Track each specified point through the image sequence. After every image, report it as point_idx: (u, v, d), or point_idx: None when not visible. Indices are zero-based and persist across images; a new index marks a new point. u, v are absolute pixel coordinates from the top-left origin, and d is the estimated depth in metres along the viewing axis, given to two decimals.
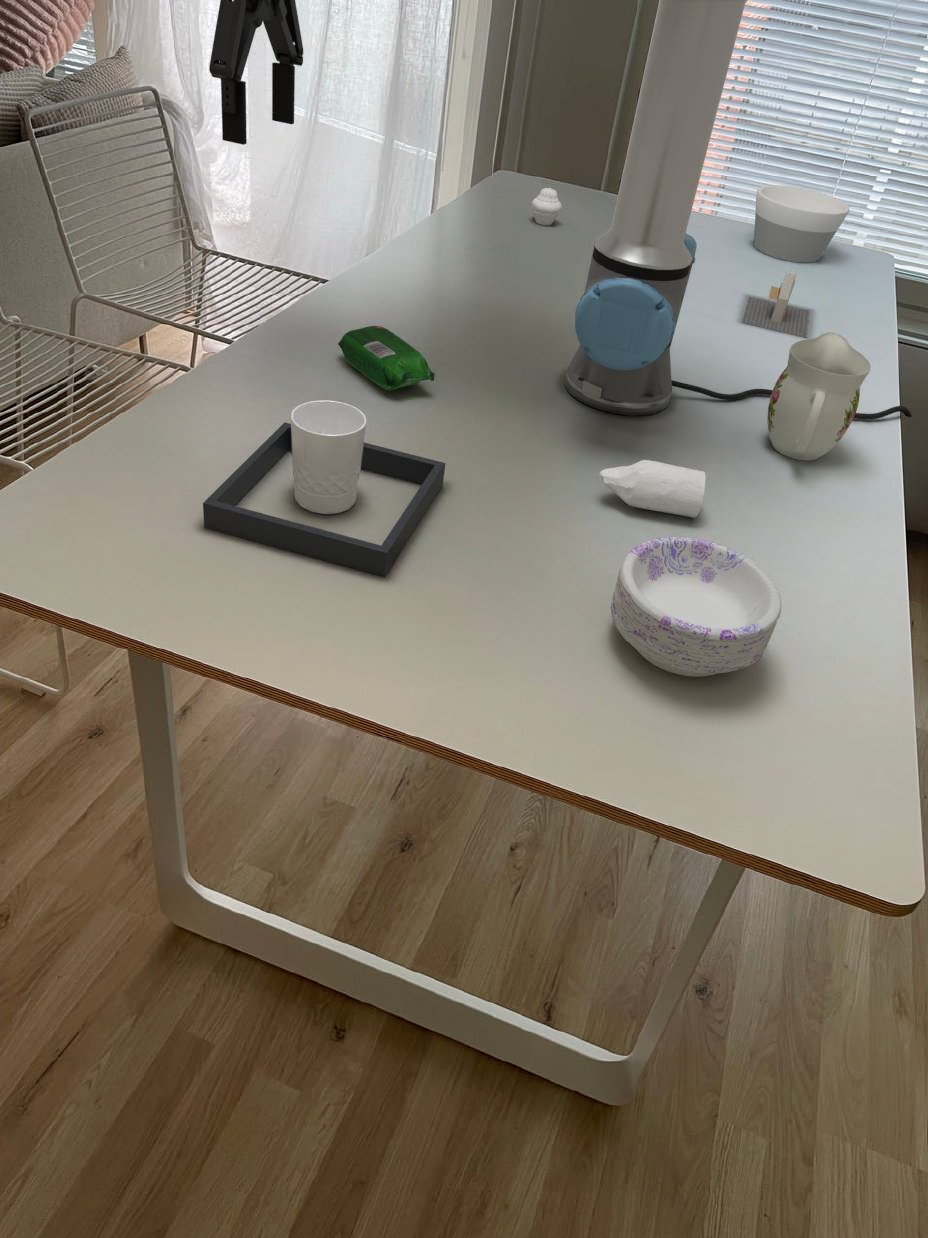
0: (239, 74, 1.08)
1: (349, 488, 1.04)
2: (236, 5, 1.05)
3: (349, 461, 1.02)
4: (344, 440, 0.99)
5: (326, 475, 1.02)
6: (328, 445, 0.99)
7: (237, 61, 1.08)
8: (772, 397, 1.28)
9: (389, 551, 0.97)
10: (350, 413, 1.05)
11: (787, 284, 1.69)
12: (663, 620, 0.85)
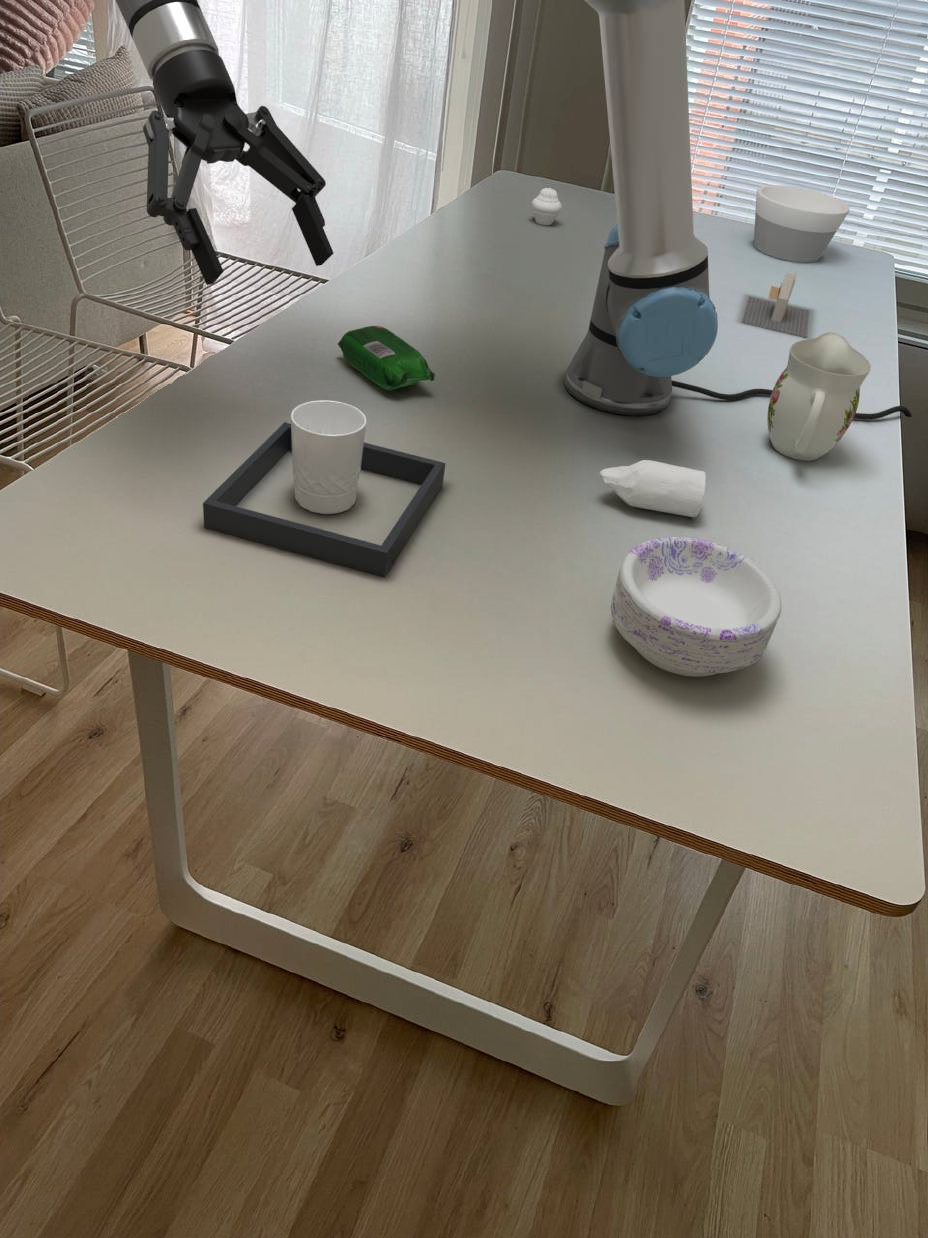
0: (179, 200, 0.93)
1: (349, 488, 1.04)
2: (155, 139, 0.93)
3: (349, 461, 1.02)
4: (344, 440, 0.99)
5: (326, 475, 1.02)
6: (328, 445, 0.99)
7: (176, 191, 0.93)
8: (772, 397, 1.28)
9: (389, 551, 0.97)
10: (350, 413, 1.05)
11: (787, 284, 1.69)
12: (663, 620, 0.85)
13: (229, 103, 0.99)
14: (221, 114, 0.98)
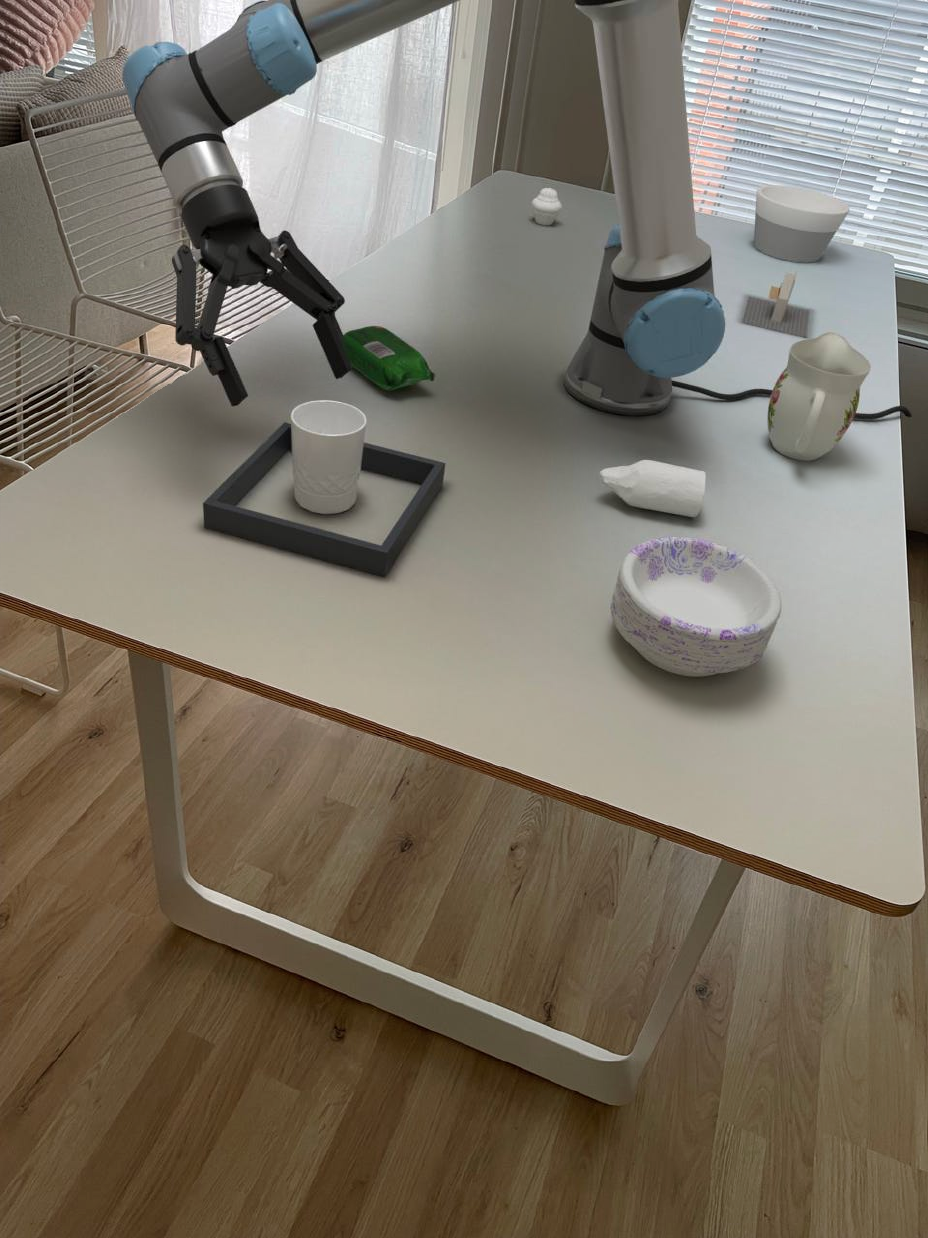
0: (206, 330, 0.98)
1: (349, 488, 1.04)
2: (183, 272, 0.98)
3: (349, 461, 1.02)
4: (344, 440, 0.99)
5: (326, 475, 1.02)
6: (328, 445, 0.99)
7: (203, 321, 0.98)
8: (772, 397, 1.28)
9: (389, 551, 0.97)
10: (350, 413, 1.05)
11: (787, 284, 1.69)
12: (663, 620, 0.85)
13: (253, 231, 1.03)
14: (245, 242, 1.03)
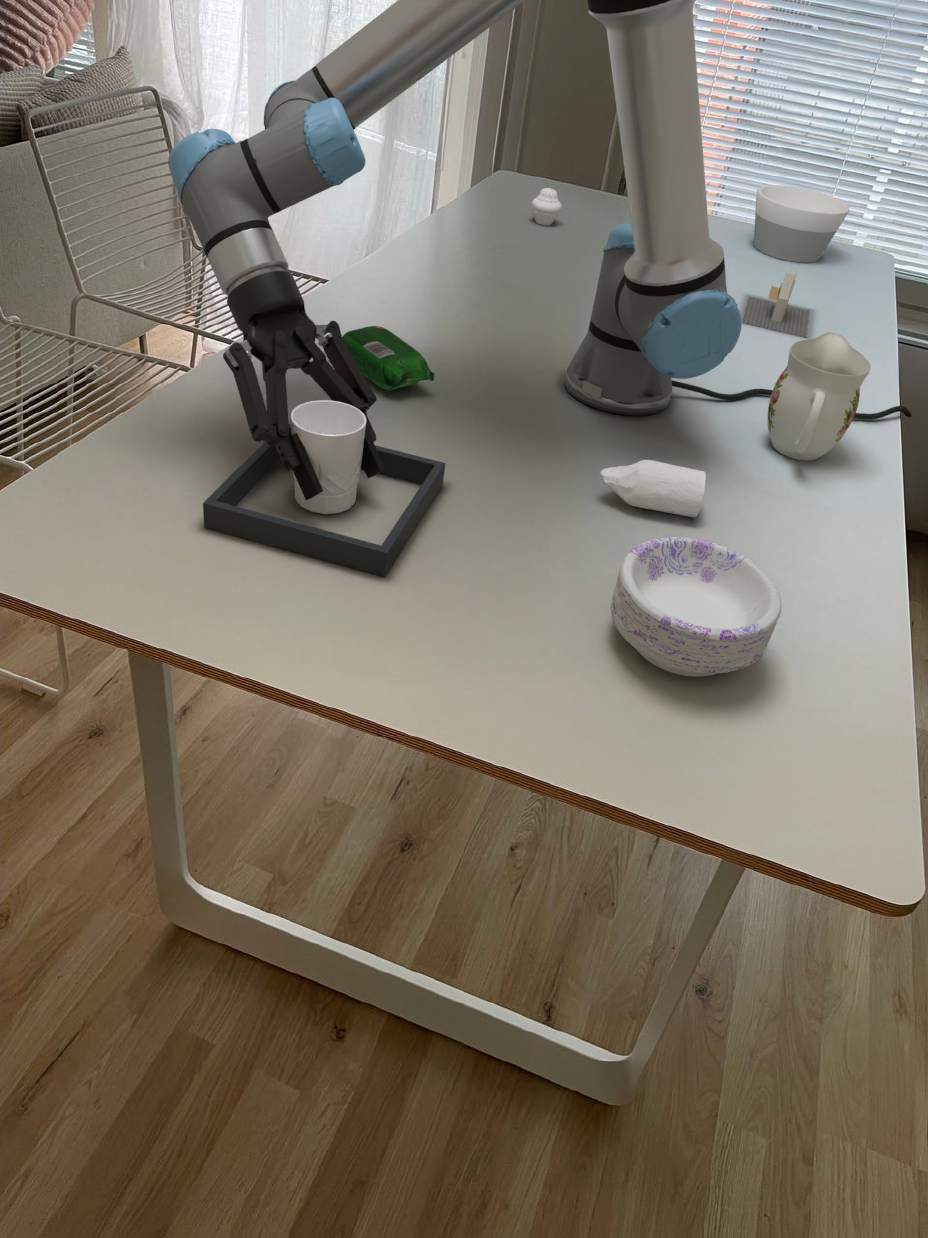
0: (282, 428, 0.99)
1: (349, 488, 1.04)
2: (241, 370, 0.98)
3: (349, 461, 1.02)
4: (344, 440, 0.99)
5: (326, 475, 1.02)
6: (328, 445, 0.99)
7: (276, 418, 0.99)
8: (772, 397, 1.28)
9: (389, 551, 0.97)
10: (350, 413, 1.05)
11: (787, 284, 1.69)
12: (663, 620, 0.85)
13: (298, 314, 1.03)
14: (291, 327, 1.02)
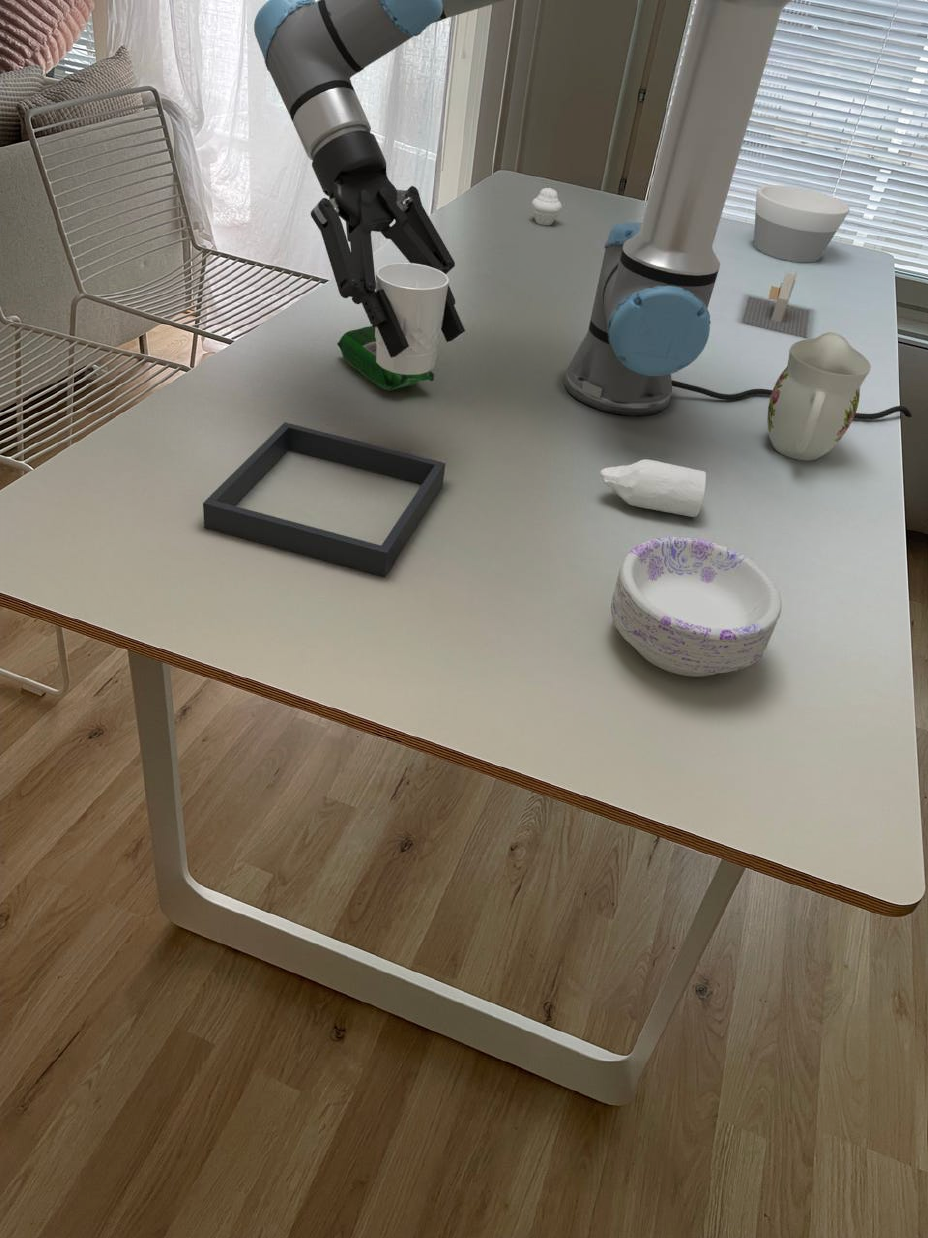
0: (369, 283, 1.01)
1: (431, 348, 1.07)
2: (330, 226, 1.01)
3: (433, 318, 1.04)
4: (429, 295, 1.02)
5: (411, 332, 1.04)
6: (414, 299, 1.02)
7: (363, 274, 1.02)
8: (772, 397, 1.28)
9: (389, 551, 0.97)
10: (431, 275, 1.07)
11: (787, 284, 1.69)
12: (663, 620, 0.85)
13: (381, 177, 1.05)
14: (374, 188, 1.05)
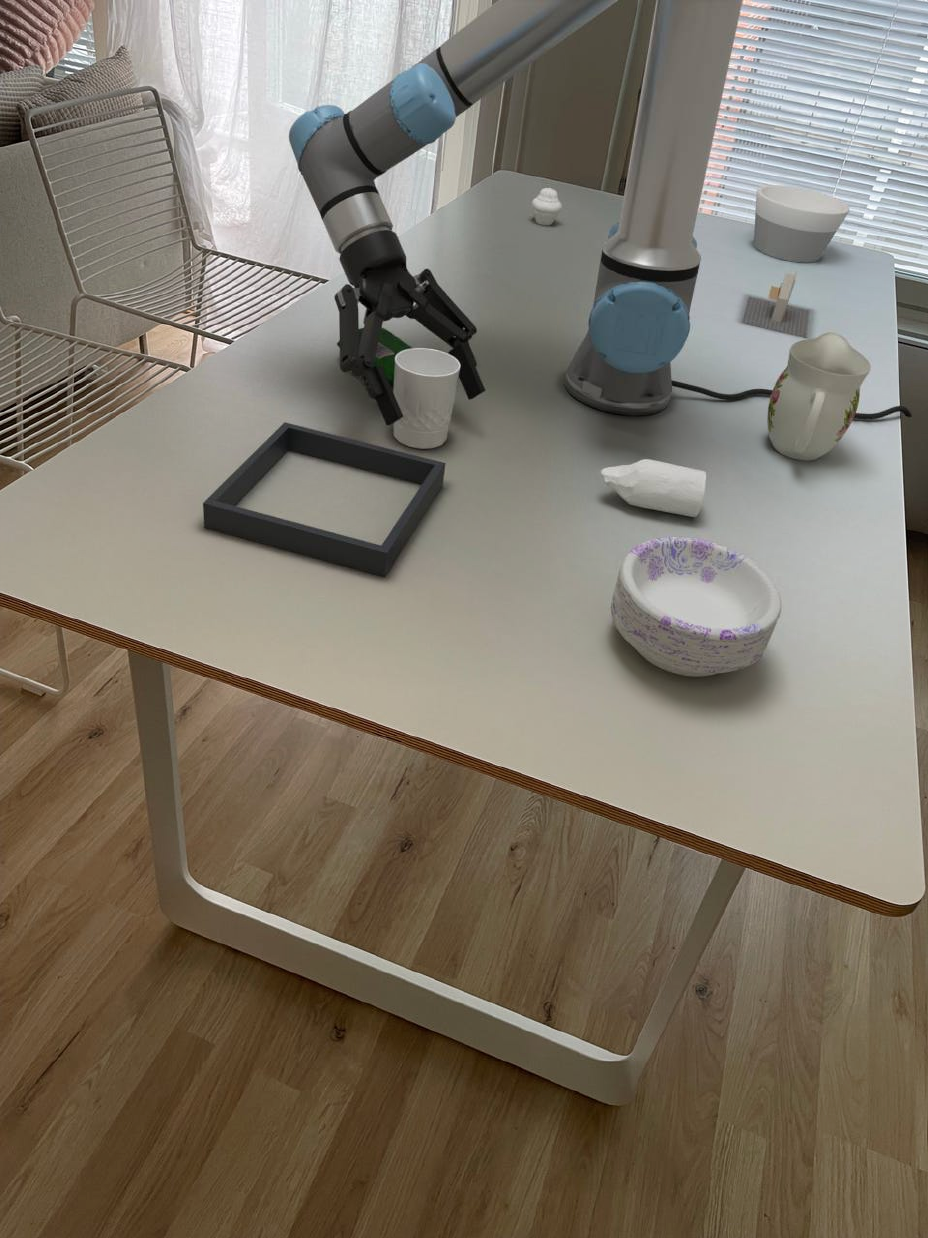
0: (368, 359, 1.11)
1: (443, 425, 1.18)
2: (347, 308, 1.11)
3: (445, 400, 1.16)
4: (443, 380, 1.14)
5: (425, 412, 1.16)
6: (429, 385, 1.13)
7: (365, 351, 1.12)
8: (772, 397, 1.28)
9: (389, 551, 0.97)
10: (444, 359, 1.19)
11: (787, 284, 1.69)
12: (663, 620, 0.85)
13: (401, 270, 1.17)
14: (395, 280, 1.16)
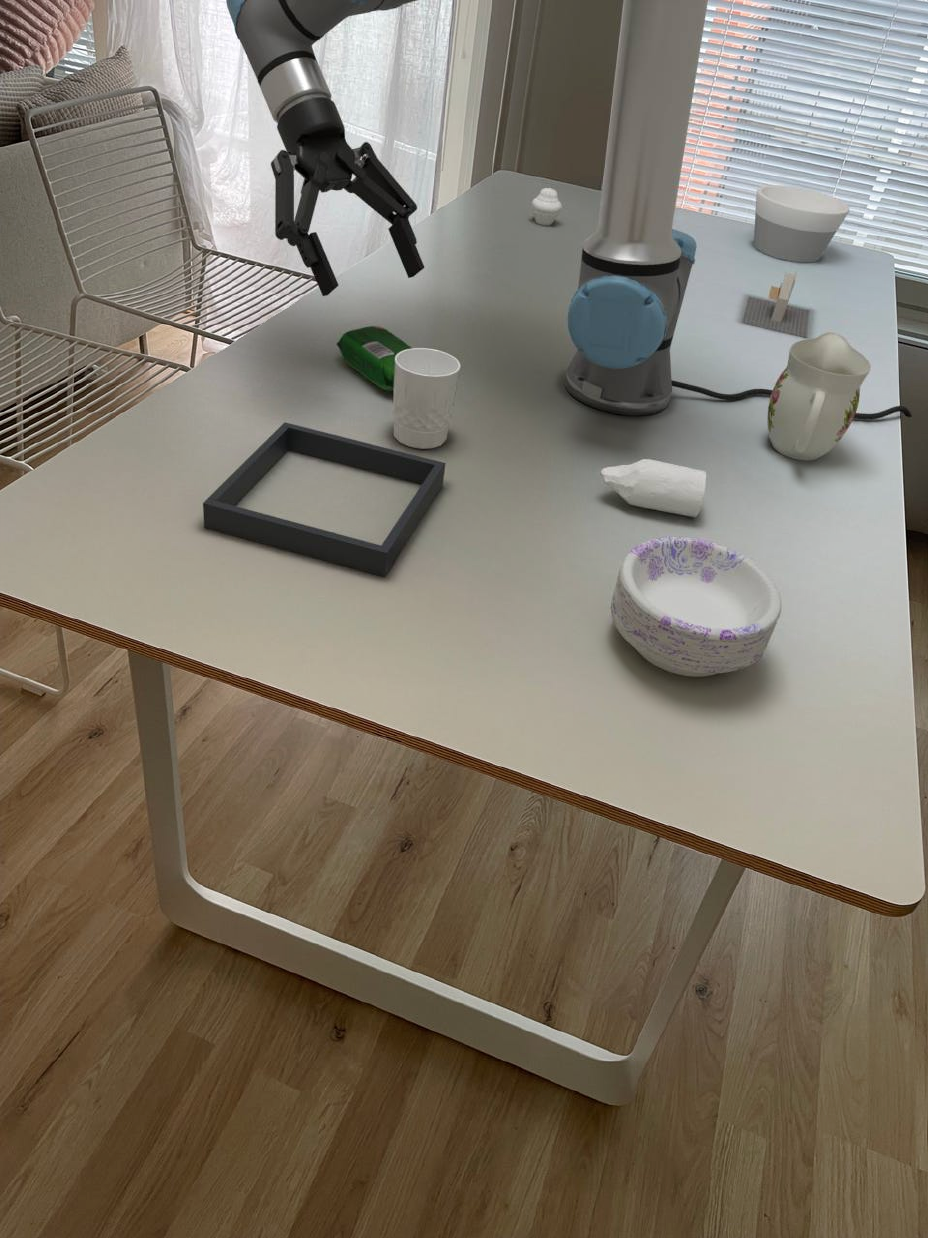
0: (303, 226, 1.11)
1: (443, 425, 1.18)
2: (282, 174, 1.11)
3: (445, 400, 1.16)
4: (443, 380, 1.14)
5: (425, 412, 1.16)
6: (429, 385, 1.13)
7: (300, 218, 1.12)
8: (772, 397, 1.28)
9: (389, 551, 0.97)
10: (444, 359, 1.19)
11: (787, 284, 1.69)
12: (663, 620, 0.85)
13: (339, 141, 1.17)
14: (333, 150, 1.16)
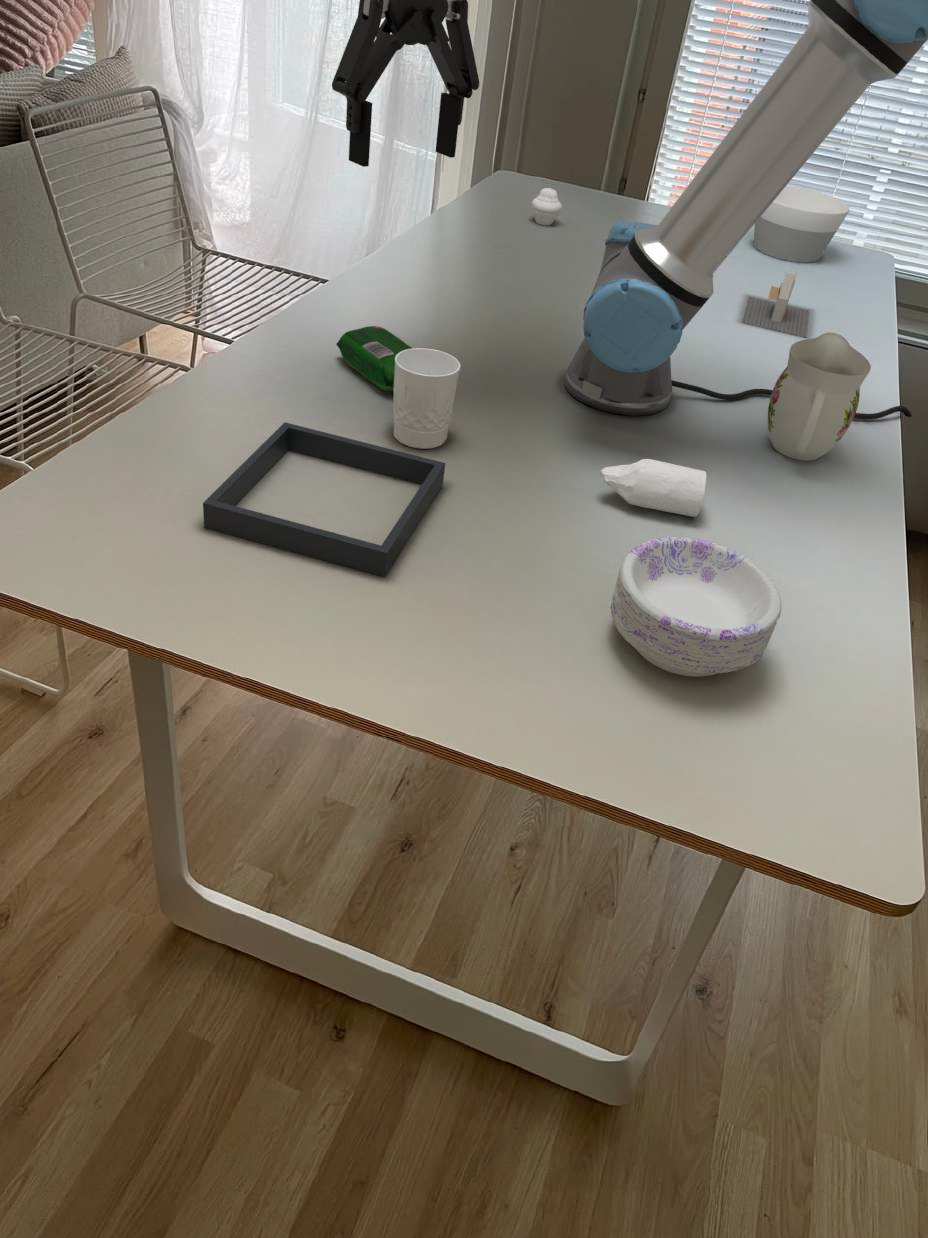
0: (362, 94, 1.05)
1: (443, 425, 1.18)
2: (367, 24, 1.01)
3: (445, 400, 1.16)
4: (443, 380, 1.14)
5: (426, 412, 1.16)
6: (429, 385, 1.13)
7: (363, 81, 1.04)
8: (772, 397, 1.28)
9: (389, 551, 0.97)
10: (444, 359, 1.19)
11: (787, 284, 1.69)
12: (663, 620, 0.85)
13: None
14: (429, 4, 1.05)
